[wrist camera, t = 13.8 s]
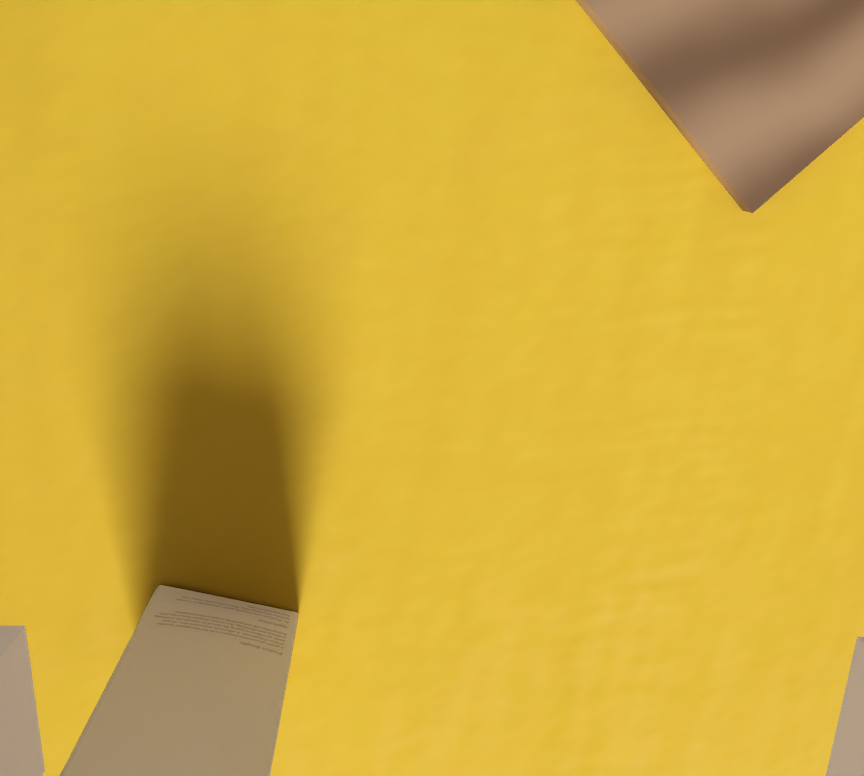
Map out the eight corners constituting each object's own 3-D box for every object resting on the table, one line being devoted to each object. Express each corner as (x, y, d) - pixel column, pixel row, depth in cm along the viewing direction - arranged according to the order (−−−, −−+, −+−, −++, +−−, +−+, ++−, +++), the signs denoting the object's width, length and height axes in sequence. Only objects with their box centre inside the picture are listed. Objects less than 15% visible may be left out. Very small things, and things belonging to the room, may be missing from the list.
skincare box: (139, 672, 46) (11, 928, 31) (159, 573, 44) (33, 796, 29) (283, 702, 47) (225, 965, 32) (308, 606, 45) (259, 839, 30)
